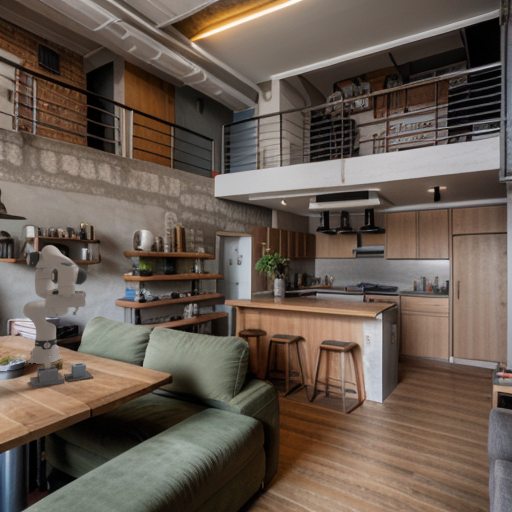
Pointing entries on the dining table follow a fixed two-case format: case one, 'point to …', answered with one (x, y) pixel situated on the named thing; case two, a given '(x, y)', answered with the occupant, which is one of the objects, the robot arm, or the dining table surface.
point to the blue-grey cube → (78, 370)
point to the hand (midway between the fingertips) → (65, 315)
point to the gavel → (57, 364)
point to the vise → (47, 375)
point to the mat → (71, 379)
